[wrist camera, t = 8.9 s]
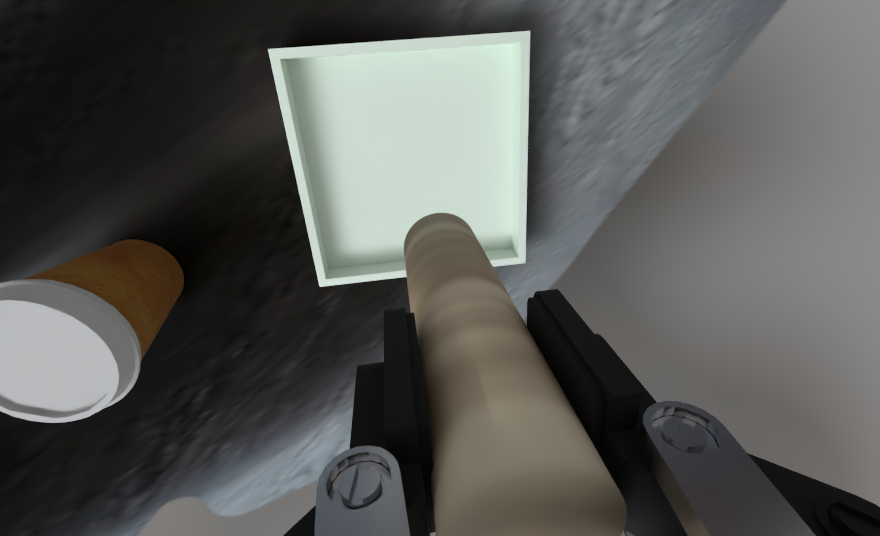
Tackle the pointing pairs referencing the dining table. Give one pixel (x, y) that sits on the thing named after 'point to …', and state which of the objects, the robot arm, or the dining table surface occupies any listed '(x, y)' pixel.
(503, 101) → the tray
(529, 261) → the dining table surface
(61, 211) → the dining table surface
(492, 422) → the wooden pin
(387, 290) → the dining table surface
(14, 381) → the disposable coffee cup
